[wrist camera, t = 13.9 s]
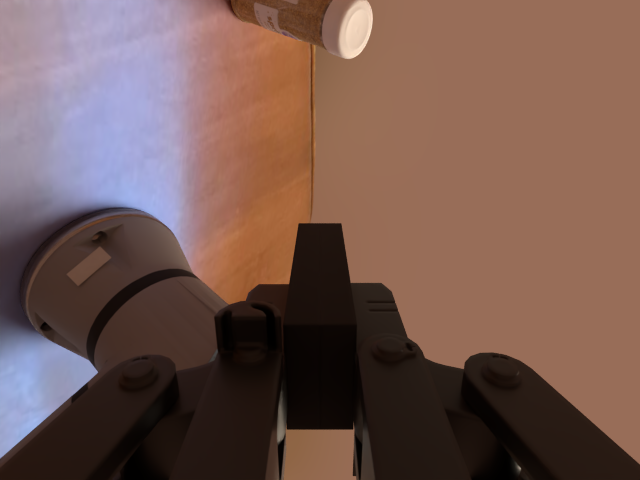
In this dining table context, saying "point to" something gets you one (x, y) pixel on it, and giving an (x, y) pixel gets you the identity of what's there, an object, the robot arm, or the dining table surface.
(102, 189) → the dining table surface
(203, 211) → the dining table surface
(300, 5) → the sprinkles bottle
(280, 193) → the dining table surface
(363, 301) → the robot arm
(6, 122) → the dining table surface
